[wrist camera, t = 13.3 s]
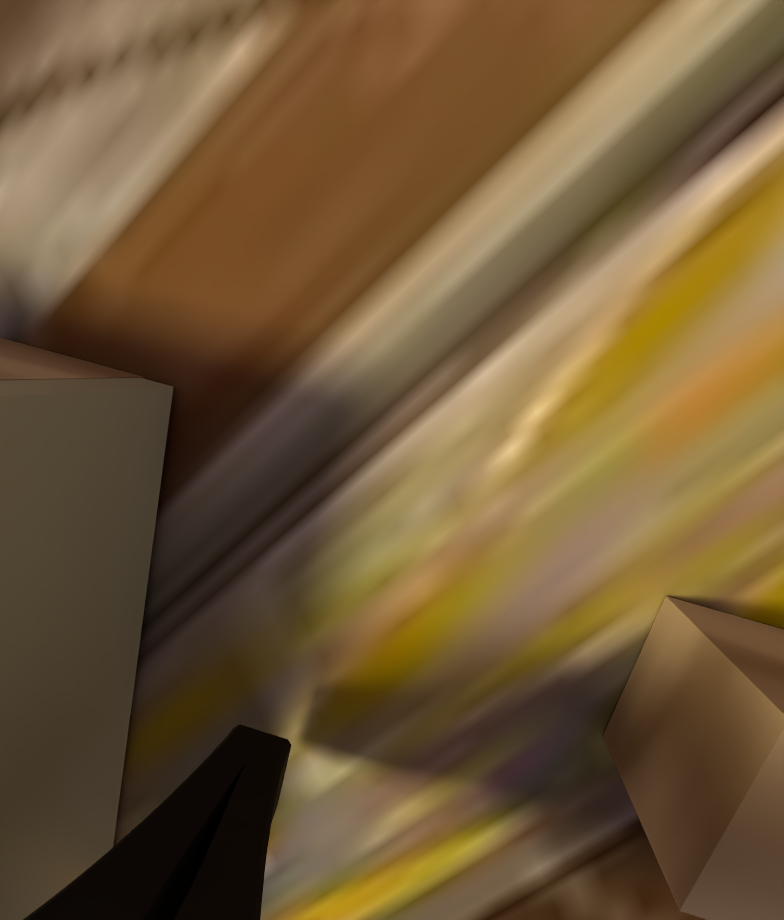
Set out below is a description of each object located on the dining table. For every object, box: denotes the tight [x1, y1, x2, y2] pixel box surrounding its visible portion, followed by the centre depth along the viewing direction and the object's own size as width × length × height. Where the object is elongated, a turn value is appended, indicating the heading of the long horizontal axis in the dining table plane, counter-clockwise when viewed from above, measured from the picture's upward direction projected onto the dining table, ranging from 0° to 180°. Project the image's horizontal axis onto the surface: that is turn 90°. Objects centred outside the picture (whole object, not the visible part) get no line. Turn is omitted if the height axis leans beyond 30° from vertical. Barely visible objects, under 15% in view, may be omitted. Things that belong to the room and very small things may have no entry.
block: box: [603, 596, 784, 920], centre depth 8 cm, size 4×4×4 cm
